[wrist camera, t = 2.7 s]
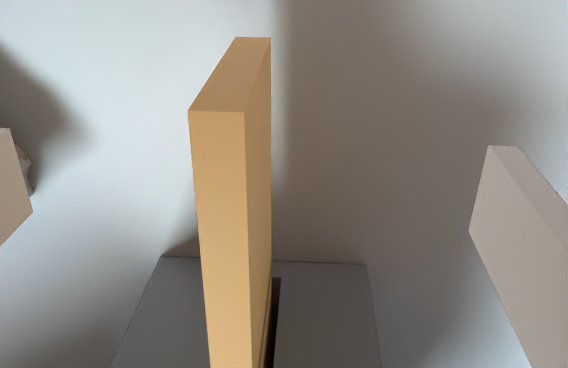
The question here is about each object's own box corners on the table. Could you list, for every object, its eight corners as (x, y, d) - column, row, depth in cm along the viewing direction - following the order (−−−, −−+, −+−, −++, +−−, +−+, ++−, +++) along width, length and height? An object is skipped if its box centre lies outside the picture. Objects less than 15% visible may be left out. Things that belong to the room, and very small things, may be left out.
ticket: (272, 441, 27) (260, 600, 21) (249, 440, 27) (230, 598, 21) (272, 37, 17) (246, 112, 10) (234, 36, 17) (185, 110, 10)
